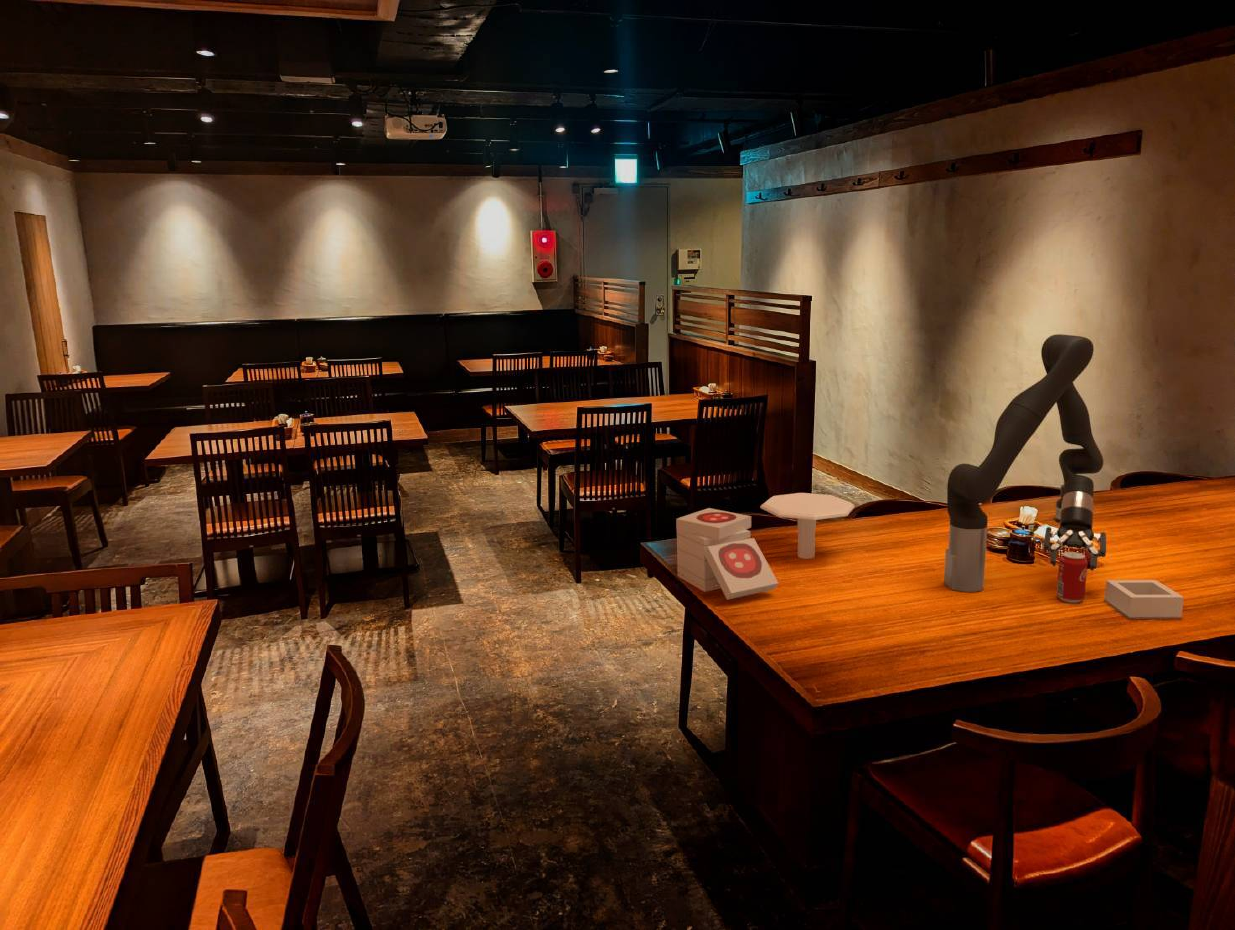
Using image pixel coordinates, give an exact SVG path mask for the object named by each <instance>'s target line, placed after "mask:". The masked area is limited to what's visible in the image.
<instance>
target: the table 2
mask: <svg viewBox="0 0 1235 930" xmlns="http://www.w3.org/2000/svg"><path fill="white" fill-rule="evenodd" d="M854 508H855V504H853V503H852V502H851V501H848V500H845V499H843V498H841V497H837V496H835V495H831V494H821V493H819V494H818V493H811V492H810V493H808V492H796V493H789V494H788V493H787V494H779V495H778V494H777V495H773V496H772V497H770V498H769V499H767V500H766V501H765V502H764V503H762V504H761V505H760V509H761V510H763V511H766V512H767V513H770V514H772V515H774V516H776V517H780V518H788V519H789V518H790V519H797V532H798V539H797V557H798V558H800V559H806V560H810V559H814V558H815V556H816V554H815V553H816V537H815V536H816V529H817V528H816V526H817V520H823V519H832V518H833V519H834V518H840V517H847V516H849V514H850V513H851V512H852V511H853V510H854ZM799 553H800V554H801V555H800V554H799ZM813 554H814V555H813ZM806 555H807V556H806ZM808 555H809V556H808Z"/></svg>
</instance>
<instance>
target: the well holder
mask: <svg viewBox="0 0 1235 930" xmlns="http://www.w3.org/2000/svg"><path fill="white" fill-rule="evenodd" d="M1184 599H1185V597H1184V595H1183V596H1182V595H1181V594H1179V593H1178V592H1177V591H1174V590H1172V589H1171V588H1169V586H1166V585H1164V584H1163V583H1161V582H1160V581H1158V580H1156V579H1131V580H1129V579H1122V580H1121V579H1118V580H1117V579H1111V580H1109V579H1108V580H1107V579H1106V581H1105V589H1104V602H1105V603H1106V604H1107V605H1109V606H1111V607H1112V608H1113V609H1115V610H1116V611H1117V612H1119V613H1120V614H1122V615H1123V616H1125V618H1127V619H1129V620H1181V619H1182V616H1183V608H1184V607H1183V606H1184Z"/></svg>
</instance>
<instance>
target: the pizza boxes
mask: <svg viewBox="0 0 1235 930" xmlns="http://www.w3.org/2000/svg"><path fill="white" fill-rule="evenodd" d="M675 521H676V522H675V523H676V525H675V526H676V529H675V530H676V557H677V559H676V562H677V566H676V567H677V569H676V570H677V572H678V573H677V572H676V573H677V575H676V576H677V577H678V578H680V579H682V580H684V581H685V582H687V583H688V584H690V585H692V586H694V587H696V588H698V589H699V590H701V591H703V592H705V593H706V592H711V591H716V590H720V589H721V590H722V593H723V595H724V596H725V598H726V600H727V601H728V600H732V599H737V598H742V597H746V596H751V595H755V594H759V593H764V592H769V591H773V590H775V589H776V587H777V586H778V585H779V582H778V579H777V578H776V576H775V574H774V573H773V570H772V569H771V566H770V565H769V563H768V561H767V560H766V558H765V556H764V554H763V552H762V551H761V548H760V547H759V544H757V541H756V539H755V538H754V537H752V538H751V530H748V529H751V528H752V516H751V515H745V514H741V513H736V512H730V511H726V510H720V509H717V508H716V509H715V508H711V507H708V508H705V509H702V510H699V511H695V512H692V513H690V514H686V515H684V516H680V517H678V518H676V520H675ZM679 573H680V574H679ZM681 574H682V575H684V576H685V577H684V576H682V575H681ZM686 577H687V578H686ZM689 579H690V580H689ZM691 580H692V581H691ZM693 581H694V582H693ZM696 583H697V584H696ZM698 584H699V585H698ZM700 585H701V586H700ZM715 585H718V586H715ZM711 586H713V587H711ZM703 587H704V588H703ZM706 587H708V588H706Z"/></svg>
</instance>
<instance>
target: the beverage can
mask: <svg viewBox="0 0 1235 930" xmlns="http://www.w3.org/2000/svg"><path fill="white" fill-rule="evenodd" d="M1087 573H1088V560H1087V559H1086V555H1085V554H1083V553H1080V552H1075V551H1065V552H1063V553H1062V556H1060V558H1059V561H1058V574H1057V582H1056V583H1057V585H1056V596H1057V597H1058V598H1059V599H1060V600H1061V601H1062V602H1065V603H1068V604H1069V603H1070V604H1077V603H1081V601H1083V600H1084V599H1085V595H1086V585H1087V584H1086V583H1087Z"/></svg>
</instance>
